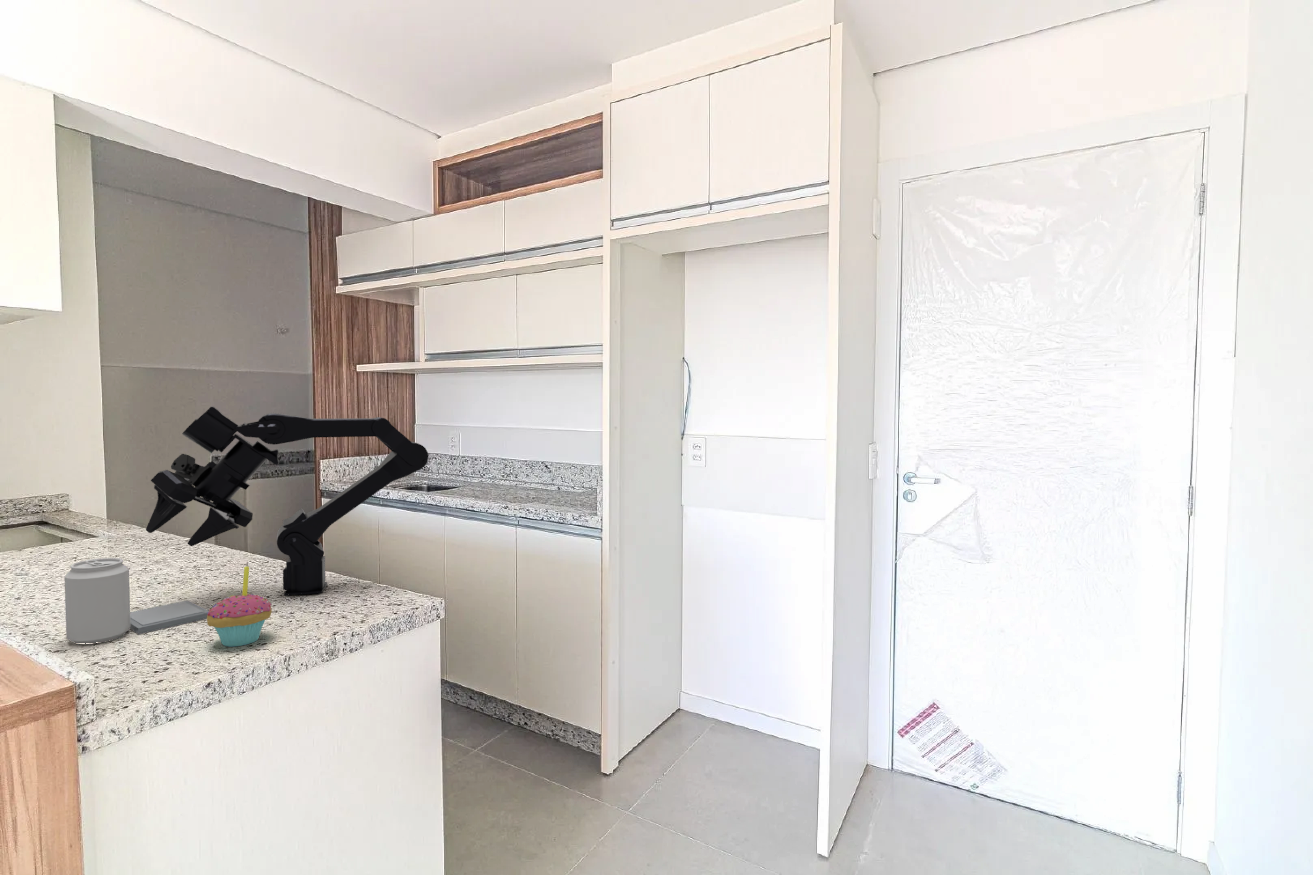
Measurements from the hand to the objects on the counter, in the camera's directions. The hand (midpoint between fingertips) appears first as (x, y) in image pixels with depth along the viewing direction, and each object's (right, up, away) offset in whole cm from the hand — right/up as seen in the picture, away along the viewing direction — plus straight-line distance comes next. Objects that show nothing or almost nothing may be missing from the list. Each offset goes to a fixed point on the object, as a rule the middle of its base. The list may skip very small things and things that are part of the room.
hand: (169, 538), depth 113 cm
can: (0, -13, -14) cm, 19 cm away
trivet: (+4, -13, -6) cm, 14 cm away
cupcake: (+22, -14, -14) cm, 30 cm away
